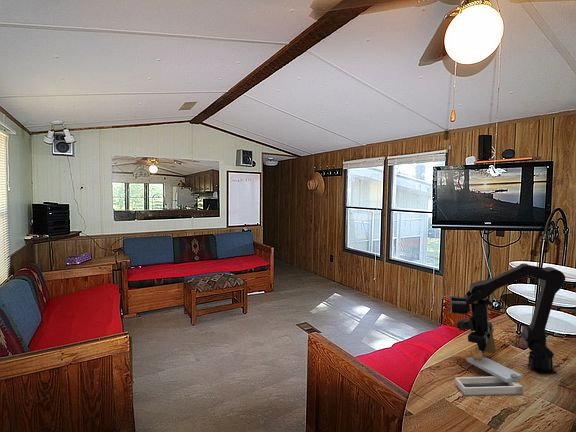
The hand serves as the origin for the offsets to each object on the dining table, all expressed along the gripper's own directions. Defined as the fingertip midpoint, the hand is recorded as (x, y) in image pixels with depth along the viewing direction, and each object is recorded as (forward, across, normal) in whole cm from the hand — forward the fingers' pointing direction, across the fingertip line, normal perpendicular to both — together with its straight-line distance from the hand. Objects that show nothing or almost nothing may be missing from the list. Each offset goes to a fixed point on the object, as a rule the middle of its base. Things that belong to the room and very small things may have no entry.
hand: (481, 352), depth 128 cm
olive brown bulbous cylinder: (+5, -15, 0) cm, 15 cm away
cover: (+2, +9, +5) cm, 11 cm away
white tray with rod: (+4, +19, +4) cm, 20 cm away
